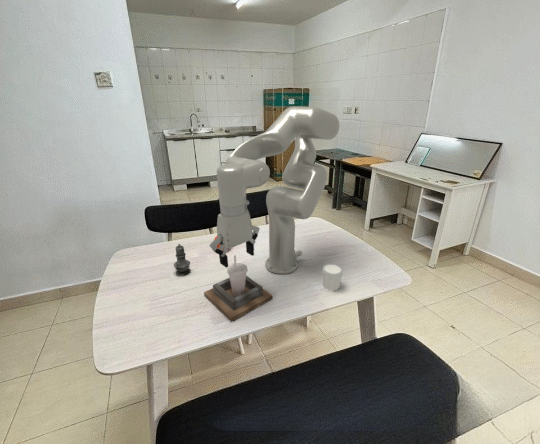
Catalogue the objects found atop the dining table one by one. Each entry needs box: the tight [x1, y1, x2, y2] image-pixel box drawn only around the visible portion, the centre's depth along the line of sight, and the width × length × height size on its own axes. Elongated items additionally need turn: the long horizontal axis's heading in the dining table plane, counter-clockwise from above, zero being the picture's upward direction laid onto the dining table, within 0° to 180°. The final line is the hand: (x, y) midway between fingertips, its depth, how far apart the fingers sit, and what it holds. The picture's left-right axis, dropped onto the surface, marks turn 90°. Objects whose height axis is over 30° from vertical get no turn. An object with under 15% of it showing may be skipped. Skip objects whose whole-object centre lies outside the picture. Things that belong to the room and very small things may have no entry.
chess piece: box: [173, 243, 191, 277], centre depth 106 cm, size 6×6×12 cm
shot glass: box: [322, 263, 344, 291], centre depth 99 cm, size 7×7×7 cm
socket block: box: [203, 274, 274, 323], centre depth 93 cm, size 16×16×4 cm
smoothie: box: [226, 255, 248, 297], centre depth 91 cm, size 6×6×14 cm
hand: (237, 259), depth 89 cm, fingers open, 9 cm apart
